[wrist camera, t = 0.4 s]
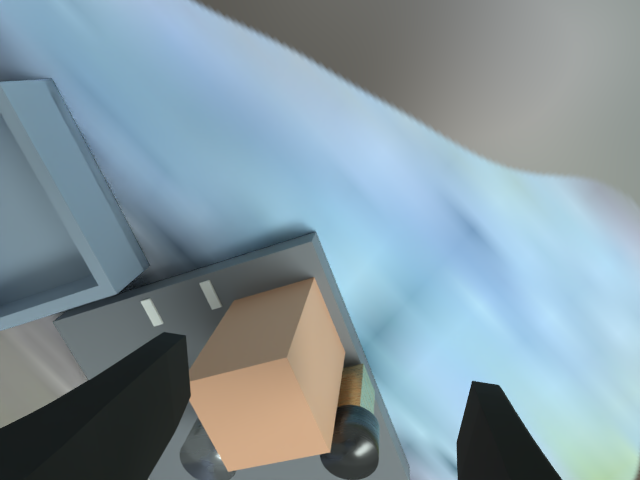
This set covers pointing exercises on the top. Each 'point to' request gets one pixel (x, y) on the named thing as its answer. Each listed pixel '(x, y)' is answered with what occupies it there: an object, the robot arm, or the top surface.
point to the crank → (343, 460)
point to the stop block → (270, 378)
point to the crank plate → (199, 324)
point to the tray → (55, 212)
